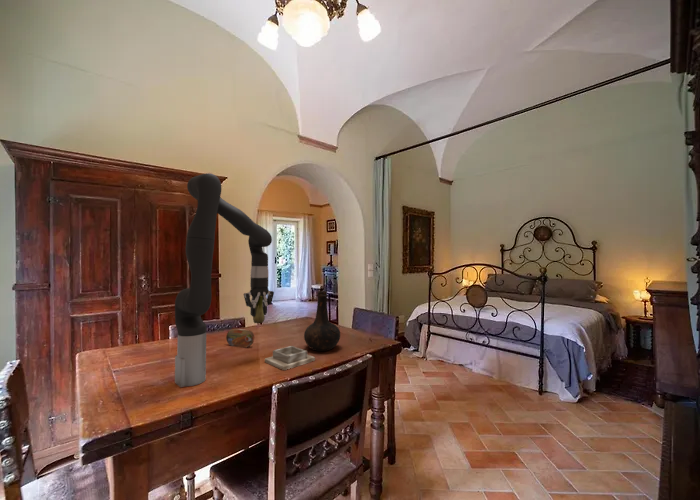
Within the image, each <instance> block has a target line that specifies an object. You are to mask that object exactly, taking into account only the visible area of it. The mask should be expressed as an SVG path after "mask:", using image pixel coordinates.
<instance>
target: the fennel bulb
mask: <svg viewBox="0 0 700 500" xmlns="http://www.w3.org/2000/svg"><path fill="white" fill-rule="evenodd" d="M255 308H256V316H255V317H253V316H252V320H253V323H254V324H262V323H264V321H265V316H266V315H264V313H263V296H260V300H258V302H257V303H256V306H255Z"/></svg>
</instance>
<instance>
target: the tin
mask: <svg viewBox="0 0 700 500" xmlns="http://www.w3.org/2000/svg"><path fill="white" fill-rule="evenodd" d="M225 338H226V342H227V344H228V345H229V346H231V347H237V348H249V347H250V346H252V345H253V344H254V342H255V334H254V332H253V331H252V330H251V329H244V328H234V329H233V328H232V329H230V330H228V332H227V333H226V337H225Z"/></svg>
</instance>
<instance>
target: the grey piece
mask: <svg viewBox="0 0 700 500" xmlns="http://www.w3.org/2000/svg"><path fill="white" fill-rule="evenodd" d="M312 361H313V362H315V361H316V357H315V356H313V355H311V354H308V350H307V349H306V350H305V349H302V348H301V347H298V346H297V347H296V346H294V345H289V346H285V347H281V348H278V349H274V350H272V356H269V357H266V358H264V363H266V364H268V365H270V366H272V367H275V368H277V369H279V370H281V369H282V371H283V370H284V371H287V369H288V370H291V369H293V368H297V367H300V366H303V365H306V364H310V363H312ZM290 368H291V369H290Z"/></svg>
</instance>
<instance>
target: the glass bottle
mask: <svg viewBox="0 0 700 500" xmlns="http://www.w3.org/2000/svg"><path fill="white" fill-rule="evenodd" d="M327 293H328V291H326V290H320V291H317V294H316V297H317V305H316V313H315V318H314V321H313V323H311V324H310V325H308V326H307V327H306V328H305V330H304V334H303V335H304V336H303V339H304V342H305V343H306V345H307V346H308V348H310V349H312V350H314V351H318V352H324V351H325V352H326V351H329V350H331V349H333V348H335V347H336V346H337V345H338V344H339V342H340V339H341V330H340V328H339V327H338V326H337V325H336V324H334V323H332V322H330V320H329V313H328V303H327V302H328V299H327V297H329V294H327Z"/></svg>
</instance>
